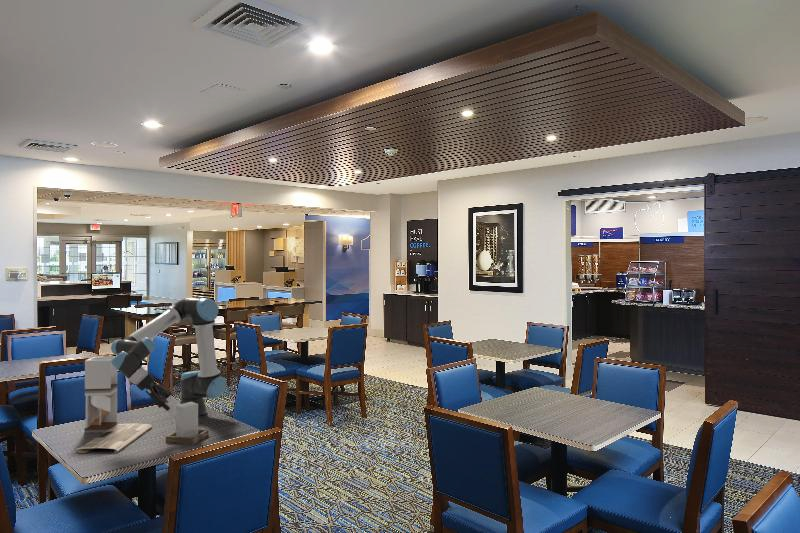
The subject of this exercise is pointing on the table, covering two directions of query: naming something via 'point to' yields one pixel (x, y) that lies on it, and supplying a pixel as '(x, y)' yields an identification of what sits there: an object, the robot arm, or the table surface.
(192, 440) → the walnut tray
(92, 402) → the paper towel dispenser
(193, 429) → the skincare box
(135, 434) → the newspaper
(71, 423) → the table surface
